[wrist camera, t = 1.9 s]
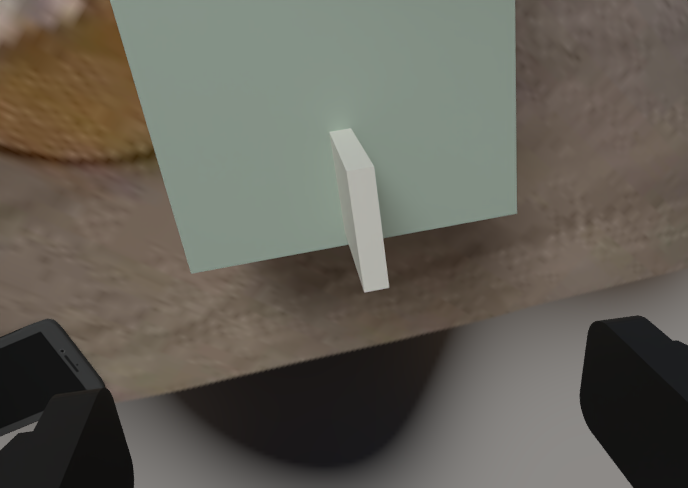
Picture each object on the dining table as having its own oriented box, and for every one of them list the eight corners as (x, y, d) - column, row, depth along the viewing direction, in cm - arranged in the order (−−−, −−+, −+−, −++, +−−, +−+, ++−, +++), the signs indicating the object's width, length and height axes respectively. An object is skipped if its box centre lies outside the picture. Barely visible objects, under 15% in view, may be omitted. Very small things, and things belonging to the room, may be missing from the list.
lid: (505, -180, 22) (599, -247, 16) (510, 208, 29) (576, 267, 23) (80, -119, 21) (2, -165, 15) (193, 266, 28) (172, 344, 22)
